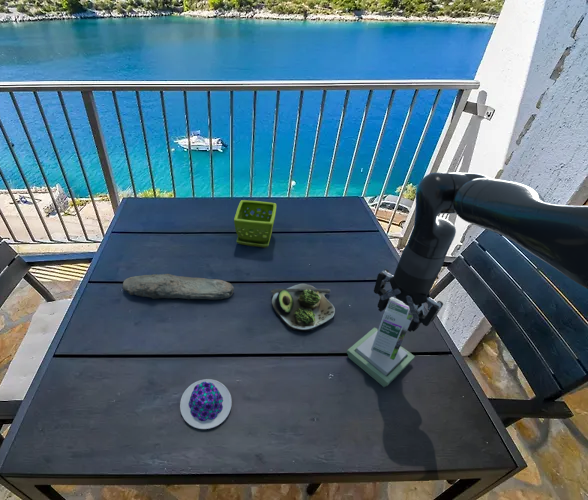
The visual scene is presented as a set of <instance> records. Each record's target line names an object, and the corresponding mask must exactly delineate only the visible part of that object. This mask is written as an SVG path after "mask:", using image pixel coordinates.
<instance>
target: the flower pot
mask: <svg viewBox="0 0 588 500" xmlns="http://www.w3.org/2000/svg"><path fill="white" fill-rule="evenodd" d="M251 212H254V213H253V214H252V213H251ZM270 212H271V213H270ZM276 214H277V203H275V202H271V201H260V200H246V199H242V200H240V201H239V203H238V206H237V208H236V212H235V215H234V218H233V225H234V229H235V233H236V235H237V238H236V243H237V244H239V245H241V246H247V247H255V248H262V249H265V248H268V247H269V245H270V241H271V237H272V233H273V228H274V224H275V220H276Z"/></svg>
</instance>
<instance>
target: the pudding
mask: <svg viewBox="0 0 588 500" xmlns="http://www.w3.org/2000/svg"><path fill="white" fill-rule="evenodd" d="M232 401H233V400H232V395H231V392H230V390H229V389H228V387H227V386H225V385H224V384H223V383H222V382H220V381H218V380H216V379H211V378H205V379H204V378H203V379H200V380H197V381H194V382H193V383H191V384H190V385H189V386H187V388H186V389H185V390H184V392H183V393H182V396H181V397H180V402H179V411H180V414H181V416H182V418H183V420H184V421H185V422H186V423H187V424H188V425H189V426H191V427H193V428H196V429H199V430H207V429H208V430H209V429H213V428H216V427H218V426H219V425H220V424H222V423H223V422H225V420H226V419H227V418H228V416H229V414H230V413H231V409H232V404H233V402H232Z"/></svg>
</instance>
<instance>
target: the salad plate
mask: <svg viewBox="0 0 588 500" xmlns="http://www.w3.org/2000/svg"><path fill="white" fill-rule="evenodd" d="M269 292H270V293H271V294H272V297H271V305H272V308H273V309H274V311H275V313H276V315H277V316H278V317H279V319H280V321H282V322H283V324H284V325H285V326H286V327H288V328H289V329H291V330H294V331H296V332H308V331H312V330H313V331H314V330H315V329H316V328H318V327H319V326H322V325H324V324H326V323H327V322H328V321H330V320H332V319H333V318H334V316H335V314H336V308H335V306H334V305H333V303H332V302H330V301H329V300H328V298H326V295H327V294H330V293H331V289H329V288H316V287H314V286H313V285H311V284H307V283H299V284H294V285H292V286H289V287H288V288H287V287H286V288H273V289H271V291H269Z"/></svg>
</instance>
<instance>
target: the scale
mask: <svg viewBox="0 0 588 500" xmlns="http://www.w3.org/2000/svg"><path fill="white" fill-rule="evenodd" d="M378 329H379V328H377V327H375V326H374V327H373V328H372V329H371V330H369V331H368V332H367V333H366V334H365V335H363V336H362V337H361V338H360V339H359V340H357V341H356V342H355V343H354V344H353V345H352V346H350V347H349V348H348V349H347V351H346V354H347V358H348V359H349V360H351V361H352V362H353V363H354V364H356V365H357V367H359V368H361V370H362V371H364V372H365V373H366V374H368V375H369V376H370V377H371V378H372V379H373V380H375V381H376V382H377V383H379V385H381V386H382V387H383V388H385V387H388V386H389V385H390V384H391V383H392V382H393V381H394V380H395V379H396V378H397V377H398V376H399V375H400V374H401V373H402V372H403V371H404V370H405V369H406V368H407V367H408V366H409V365H410V364H411V363H412V362H413V361H414V359H415V358H416V355H414V354H412V352H410V351H408V350H407V349H406V348H404V347H402V346H400V348H402V349H403V350H404V351H406V352H407V353H408V354H407V356H406V357H405V358H404V359H403V360H402V361H401V362H400V363H399V364H398V365H397V366H396V367H395V368H394V369H393V370H392V371H391V372H390V373H389V374H388V375H387V376H385V375H384V374H382V373H381V372H380V371H379V370H377V369H376V368H375V367H374V366H373V365H371V364H370V363H369V362H368V361H366V360H365V359H364V358H363V357H361V356H360V355H359V354H358V353H356V352H355V351H356V348H357V347H359V346H360V345H361V344H362V343H363V342H364V341H366V340H367V339H368V338H369V337H370V336H372V335H373V334H374V333H375V332H376V331H378Z"/></svg>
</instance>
